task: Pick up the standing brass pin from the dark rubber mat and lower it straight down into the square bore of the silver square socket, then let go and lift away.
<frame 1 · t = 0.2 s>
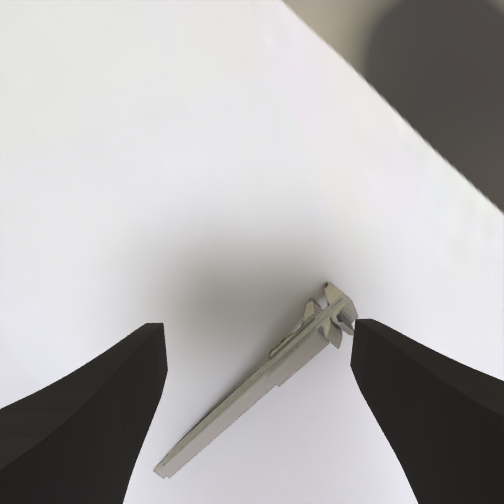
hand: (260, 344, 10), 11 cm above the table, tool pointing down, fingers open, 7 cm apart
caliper: (242, 378, 22), on the table
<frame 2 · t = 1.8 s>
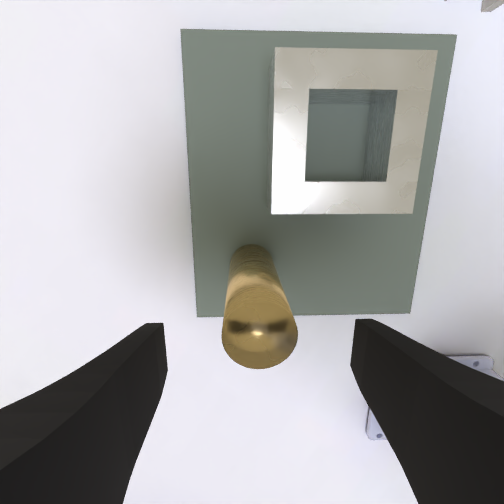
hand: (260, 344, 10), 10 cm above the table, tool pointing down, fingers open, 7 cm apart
silver square socket: (330, 143, 18), resting on mat
pin: (251, 264, 20), resting on mat
mat: (310, 191, 19), on the table
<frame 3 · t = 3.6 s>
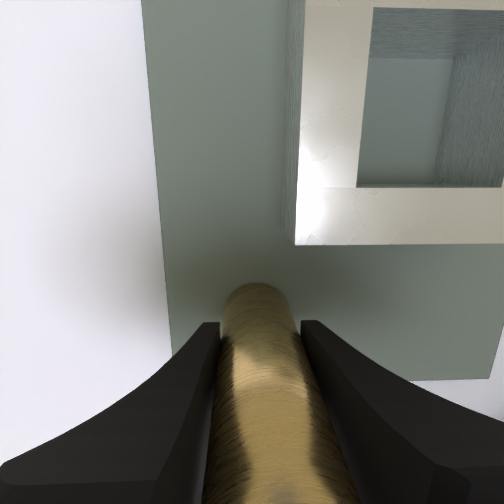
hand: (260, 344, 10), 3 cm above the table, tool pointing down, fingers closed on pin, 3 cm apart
silver square socket: (385, 124, 11), resting on mat
pin: (256, 312, 13), resting on mat, touching gripper
mat: (349, 201, 12), on the table
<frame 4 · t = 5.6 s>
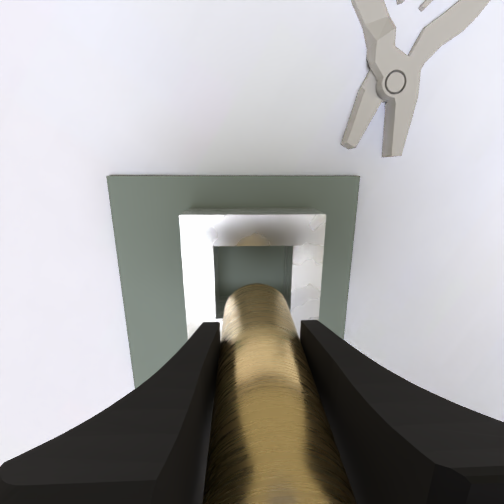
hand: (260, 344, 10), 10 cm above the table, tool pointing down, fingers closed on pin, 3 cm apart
pliers: (400, 23, 17), on the table
silver square socket: (251, 265, 19), resting on mat
pin: (256, 313, 13), point 7 cm above the table, touching gripper
mat: (237, 303, 21), on the table
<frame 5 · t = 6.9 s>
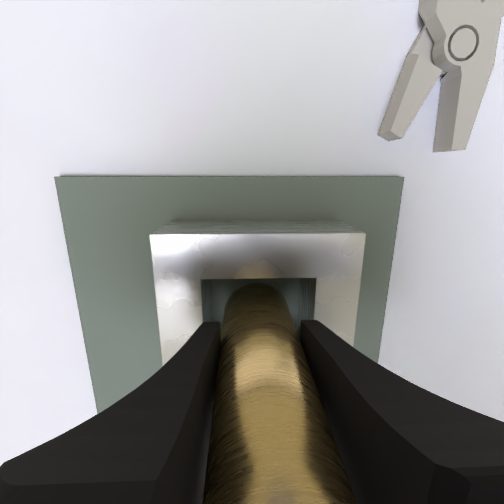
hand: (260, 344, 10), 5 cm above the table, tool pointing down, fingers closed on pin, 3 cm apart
silver square socket: (254, 296, 15), resting on mat
pin: (256, 313, 13), point 2 cm above the table, touching gripper
mat: (236, 343, 16), on the table
when the fingers open (5 cm above the table, at t = 7.7 s): pin drops 2 cm, resting on mat.
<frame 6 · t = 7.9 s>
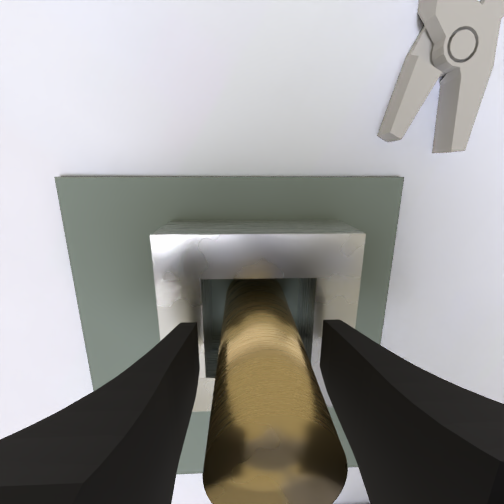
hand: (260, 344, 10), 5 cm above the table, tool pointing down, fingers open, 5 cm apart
silver square socket: (254, 296, 15), resting on mat
pin: (254, 298, 15), resting on mat
mat: (236, 343, 16), on the table
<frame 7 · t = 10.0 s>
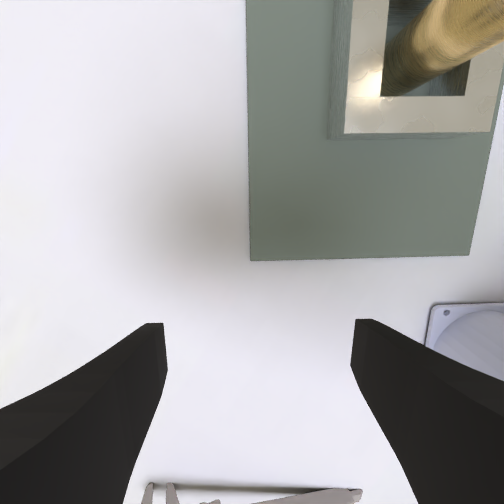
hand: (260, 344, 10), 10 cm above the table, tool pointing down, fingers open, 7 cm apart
silver square socket: (395, 69, 17), resting on mat
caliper: (256, 484, 27), on the table
pin: (395, 70, 17), resting on mat
mat: (371, 123, 18), on the table
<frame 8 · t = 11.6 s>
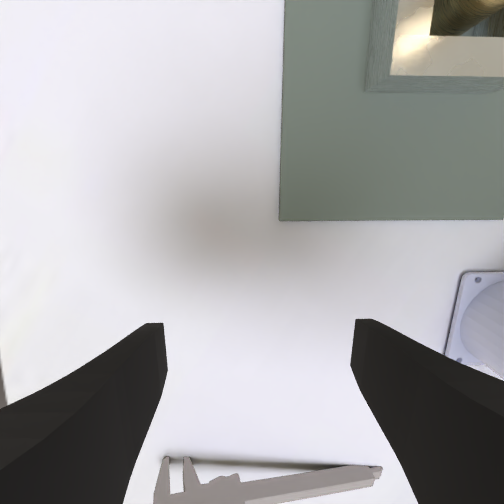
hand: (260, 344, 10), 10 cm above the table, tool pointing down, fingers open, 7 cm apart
silver square socket: (437, 17, 16), resting on mat
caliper: (274, 460, 26), on the table
pin: (437, 18, 16), resting on mat
mat: (409, 77, 18), on the table
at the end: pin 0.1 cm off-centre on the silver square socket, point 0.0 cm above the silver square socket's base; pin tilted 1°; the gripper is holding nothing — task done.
